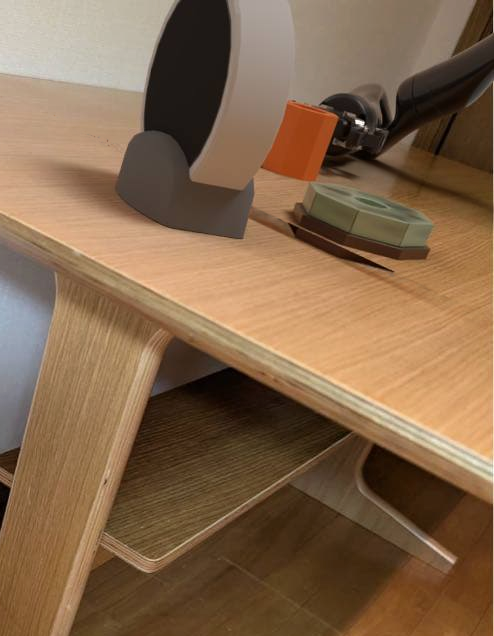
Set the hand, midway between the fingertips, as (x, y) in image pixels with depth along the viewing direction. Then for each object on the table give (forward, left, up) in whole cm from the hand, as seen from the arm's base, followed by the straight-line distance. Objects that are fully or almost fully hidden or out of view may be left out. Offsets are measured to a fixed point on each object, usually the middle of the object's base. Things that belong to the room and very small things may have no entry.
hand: (317, 127), depth 99 cm
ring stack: (+22, +23, -6) cm, 33 cm away
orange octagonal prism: (+6, +2, -6) cm, 9 cm away
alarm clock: (+37, +14, -6) cm, 40 cm away
